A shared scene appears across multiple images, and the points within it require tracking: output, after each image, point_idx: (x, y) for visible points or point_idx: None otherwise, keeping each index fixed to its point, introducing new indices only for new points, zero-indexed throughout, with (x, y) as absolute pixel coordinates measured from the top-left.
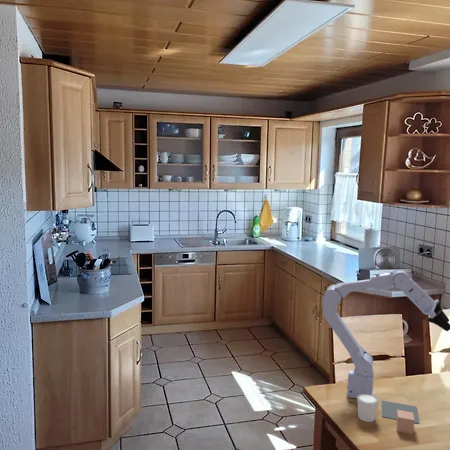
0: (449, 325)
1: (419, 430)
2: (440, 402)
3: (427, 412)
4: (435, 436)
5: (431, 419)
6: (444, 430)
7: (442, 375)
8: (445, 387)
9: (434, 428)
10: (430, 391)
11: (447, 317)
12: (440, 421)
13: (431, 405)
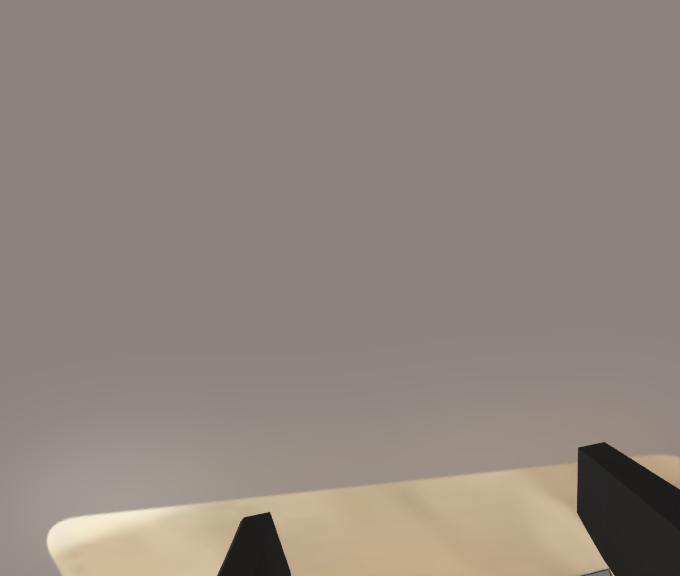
0: (655, 476)
1: None
2: (348, 508)
3: (477, 550)
4: None
5: (526, 525)
6: (576, 466)
7: (69, 531)
8: (191, 504)
9: None
10: None
11: (235, 557)
12: (516, 489)
13: (400, 541)
